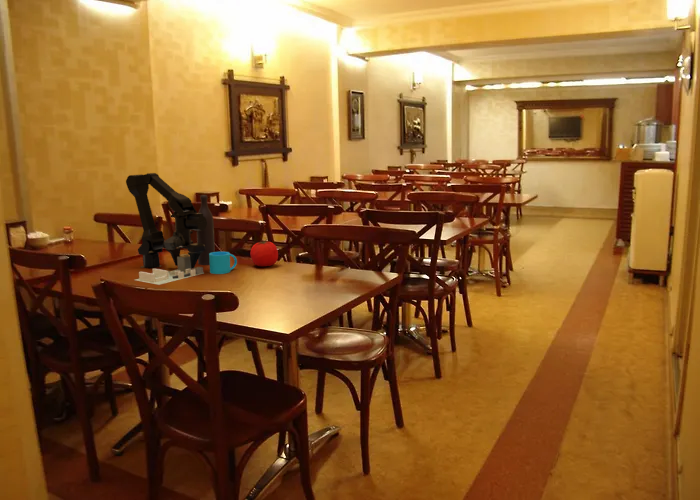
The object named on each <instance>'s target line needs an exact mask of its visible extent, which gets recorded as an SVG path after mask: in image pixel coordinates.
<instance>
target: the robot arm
mask: <svg viewBox="0 0 700 500" xmlns="http://www.w3.org/2000/svg"><path fill="white" fill-rule="evenodd" d="M125 184H126V187H127V190H128V191H129V193H130V194H131V195H132V196H133V197H134V200H135V202H136V207H137V211H138V215H139V218H140V222H141V226H142V229H143V232H142V236H141V242H142V243H141V244H140V245H139V247H138V249H137V253H138V255H141V256H142V261H143V262H142V264H143V265H142V266H140V269H142V268H143V269H157V268H159V267H162V265H160V254H159V253H162V252H163V249H165V251H167V252H168V253H169V254H170V255H171V258H172V260H173V262H174V265H175V266H176V267H178V264H177V257H178V256H180V255H181V249H184V250H185V249H186V250H187V251H188V252H187V254H189V256H190V261H191V268H192V269H193V268H195V267H196V265H197V262H198V258H199V256H200V254H201V253H202V252H203V251H205V245H204V244H202V243H197V242H195V243H194V240H192V238H191V234H192V235H193V232H194V231H197V230H200V231H203V230H205V228H206V226H207V221H206V218H205V217H203V213H198V211H197V208H195V206H194V204H193V203H192V200H191V198H190V197H188V196H186V195H184V194H183V193H179V192H178V191H176V190H175V189H173V187H171V186H170V185H169V184H168V183H167V182H165V180H164V179H162V178H161V177H160V176H159V174H158V173H156V172H150V173H149V172H147V173H146V174H142V173H141V174H131V175H130V174H129V175H128V176H127V178H126V179H125ZM149 186H151V187H152V188H153V189H155V191H156V192H158V194H160V195H161V196H162V197H163V198H164V199H165V200H166V201H167V204H168V207H170V209H171V210H172V211H173V213H172V214H171V215H170V218H174V224H175V231H173V233H172V236H170V237H169V238H167V239H165V237H164V233H163V231H162V230H159V229H157V227H156V224H155V220H154V216H153V213H152V208H151V205H150V201H149V197H148V192H149V189H150V187H149Z"/></svg>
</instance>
